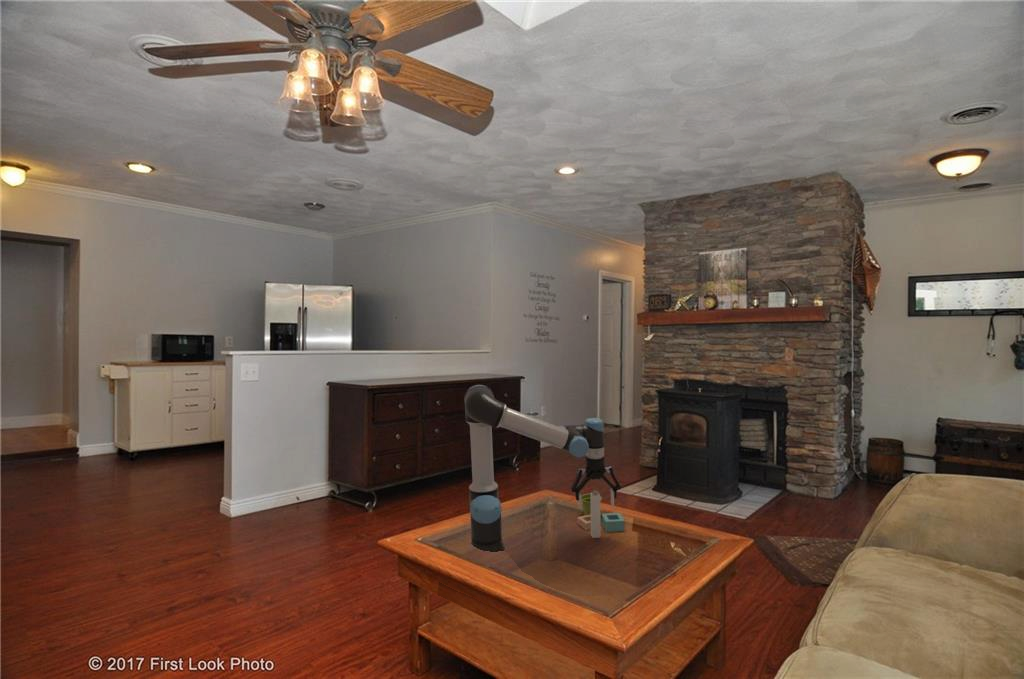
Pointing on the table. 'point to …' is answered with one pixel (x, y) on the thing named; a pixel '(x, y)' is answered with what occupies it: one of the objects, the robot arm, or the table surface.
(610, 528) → the teal square hollow block
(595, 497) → the light grey post
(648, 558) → the table surface
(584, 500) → the plant pot
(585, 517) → the beige square hollow block
